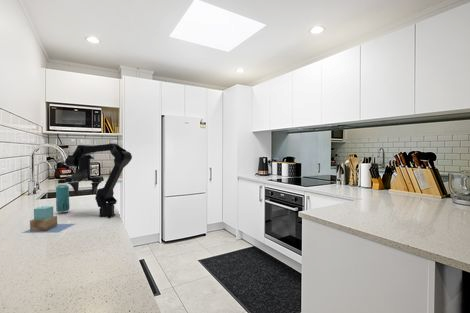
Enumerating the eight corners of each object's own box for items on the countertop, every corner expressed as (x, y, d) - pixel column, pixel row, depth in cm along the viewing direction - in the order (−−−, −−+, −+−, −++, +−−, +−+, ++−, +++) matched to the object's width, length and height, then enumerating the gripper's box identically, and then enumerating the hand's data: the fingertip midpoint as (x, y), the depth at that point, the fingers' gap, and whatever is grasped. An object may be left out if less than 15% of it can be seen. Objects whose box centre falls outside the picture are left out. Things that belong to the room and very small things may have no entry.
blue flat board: (75, 225, 117) (75, 223, 117) (58, 233, 105) (58, 232, 105) (42, 225, 116) (42, 224, 116) (21, 234, 104) (21, 232, 104)
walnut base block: (57, 226, 113) (57, 216, 113) (46, 231, 106) (45, 220, 106) (42, 226, 113) (42, 216, 113) (30, 231, 106) (29, 220, 106)
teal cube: (53, 216, 112) (53, 206, 112) (45, 219, 107) (45, 208, 107) (42, 216, 112) (42, 206, 112) (34, 219, 107) (33, 208, 107)
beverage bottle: (62, 214, 135) (61, 180, 134) (53, 214, 136) (52, 179, 136) (72, 211, 141) (71, 178, 141) (63, 211, 143) (62, 178, 142)
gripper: (57, 168, 125) (58, 197, 126) (93, 168, 126) (93, 197, 126) (71, 166, 136) (71, 193, 137) (104, 166, 137) (104, 193, 138)
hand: (84, 194), depth 134 cm, fingers open, 9 cm apart
